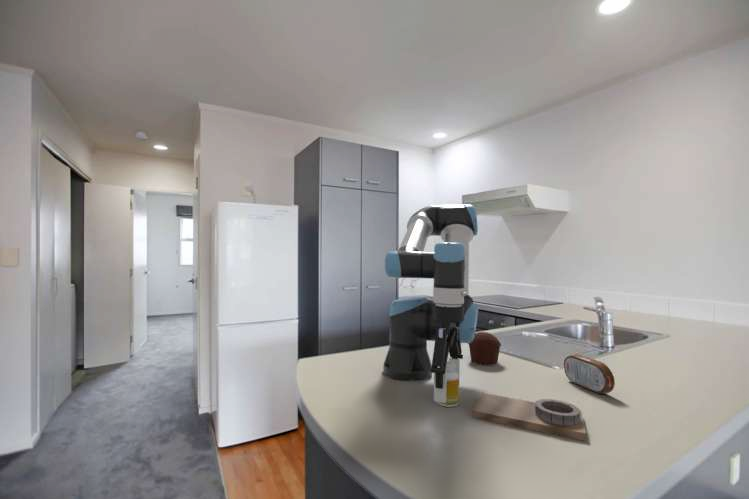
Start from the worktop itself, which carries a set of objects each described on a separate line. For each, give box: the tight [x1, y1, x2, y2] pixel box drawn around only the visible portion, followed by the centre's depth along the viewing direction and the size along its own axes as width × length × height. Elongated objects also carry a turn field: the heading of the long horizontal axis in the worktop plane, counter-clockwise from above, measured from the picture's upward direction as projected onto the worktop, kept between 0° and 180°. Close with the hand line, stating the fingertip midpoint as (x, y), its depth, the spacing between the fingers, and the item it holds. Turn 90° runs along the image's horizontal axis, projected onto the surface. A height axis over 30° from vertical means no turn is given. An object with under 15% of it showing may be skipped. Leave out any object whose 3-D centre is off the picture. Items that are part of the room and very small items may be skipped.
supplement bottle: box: [435, 360, 460, 408], centre depth 87 cm, size 5×5×10 cm
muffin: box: [467, 331, 502, 366], centre depth 123 cm, size 12×11×10 cm
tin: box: [563, 353, 616, 395], centre depth 99 cm, size 15×3×8 cm, turn 15°
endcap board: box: [471, 392, 587, 442], centre depth 79 cm, size 22×12×4 cm, turn 64°
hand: (447, 392), depth 86 cm, fingers open, 12 cm apart
